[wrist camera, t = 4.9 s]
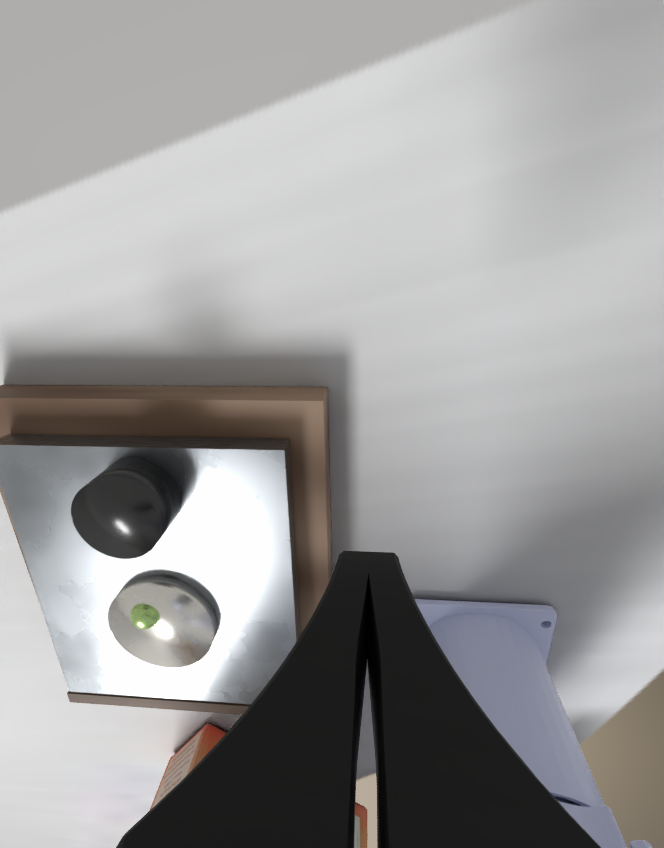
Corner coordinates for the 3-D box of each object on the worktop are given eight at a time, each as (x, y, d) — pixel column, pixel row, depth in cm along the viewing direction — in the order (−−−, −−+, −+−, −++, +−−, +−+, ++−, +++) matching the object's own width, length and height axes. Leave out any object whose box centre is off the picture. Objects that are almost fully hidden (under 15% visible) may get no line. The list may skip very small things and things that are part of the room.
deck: (303, 686, 24) (294, 747, 21) (82, 672, 25) (43, 728, 22) (289, 438, 19) (273, 473, 16) (8, 434, 20) (-57, 465, 17)
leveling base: (334, 668, 26) (329, 721, 23) (87, 652, 28) (53, 700, 25) (327, 386, 20) (320, 411, 17) (2, 384, 21) (-58, 406, 18)
